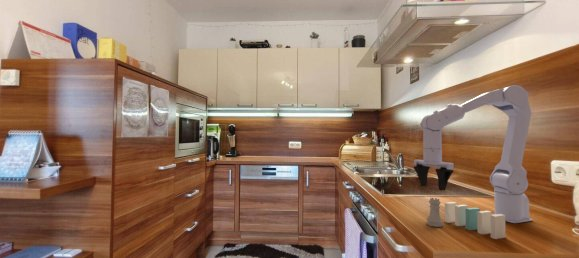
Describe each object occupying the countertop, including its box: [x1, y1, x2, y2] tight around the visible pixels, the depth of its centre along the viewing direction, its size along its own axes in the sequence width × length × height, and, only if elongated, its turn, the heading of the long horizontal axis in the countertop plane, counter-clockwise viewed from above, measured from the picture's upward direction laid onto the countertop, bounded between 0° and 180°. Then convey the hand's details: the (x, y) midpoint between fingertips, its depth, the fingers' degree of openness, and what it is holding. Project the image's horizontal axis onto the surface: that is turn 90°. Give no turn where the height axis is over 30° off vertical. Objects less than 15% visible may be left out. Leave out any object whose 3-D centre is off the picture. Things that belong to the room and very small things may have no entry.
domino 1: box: [444, 201, 458, 224], centre depth 85 cm, size 4×1×6 cm, turn 109°
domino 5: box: [490, 214, 506, 240], centre depth 71 cm, size 4×1×6 cm, turn 109°
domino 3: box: [465, 207, 481, 231], centre depth 78 cm, size 4×1×6 cm, turn 104°
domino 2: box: [454, 204, 469, 227], centre depth 81 cm, size 4×1×6 cm, turn 109°
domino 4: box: [477, 210, 493, 235], centre depth 75 cm, size 4×1×6 cm, turn 109°
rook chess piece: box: [426, 197, 444, 228], centre depth 81 cm, size 4×4×8 cm
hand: (432, 188), depth 91 cm, fingers open, 7 cm apart
